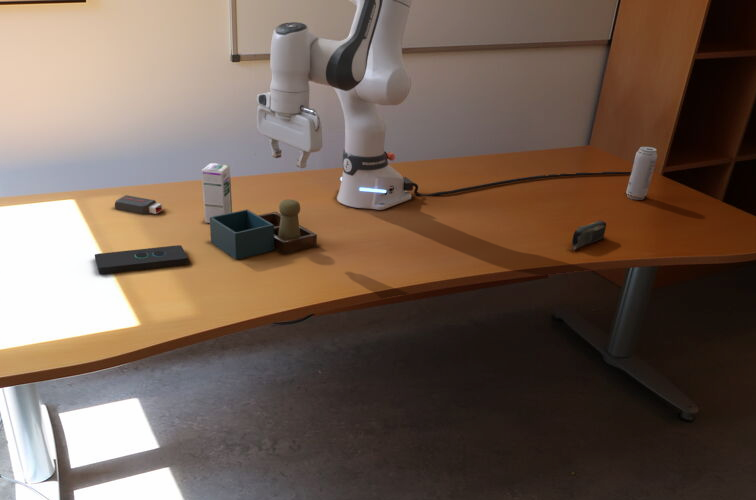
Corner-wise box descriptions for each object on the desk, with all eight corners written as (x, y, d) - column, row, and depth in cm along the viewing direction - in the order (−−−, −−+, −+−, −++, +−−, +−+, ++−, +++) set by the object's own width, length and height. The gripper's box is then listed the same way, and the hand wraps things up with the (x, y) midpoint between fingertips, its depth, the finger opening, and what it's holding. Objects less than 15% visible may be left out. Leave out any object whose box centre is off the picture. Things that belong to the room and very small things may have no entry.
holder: (275, 222, 197) (275, 211, 196) (316, 245, 185) (316, 234, 184) (244, 229, 192) (243, 218, 190) (283, 254, 180) (283, 242, 178)
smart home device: (188, 257, 171) (98, 267, 164) (188, 264, 172) (99, 274, 165) (181, 244, 178) (94, 253, 171) (181, 250, 179) (95, 260, 172)
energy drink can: (628, 192, 233) (641, 144, 225) (648, 197, 230) (661, 148, 222) (622, 197, 228) (635, 148, 221) (642, 201, 226) (655, 152, 218)
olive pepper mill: (300, 248, 183) (301, 206, 177) (276, 247, 183) (276, 204, 177) (302, 239, 188) (302, 197, 183) (278, 237, 188) (278, 196, 182)
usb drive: (126, 202, 204) (124, 193, 203) (164, 209, 201) (163, 200, 200) (115, 208, 200) (113, 199, 199) (153, 216, 197) (153, 206, 195)
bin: (248, 233, 190) (247, 209, 186) (274, 250, 182) (273, 224, 178) (210, 242, 184) (209, 217, 180) (236, 259, 176) (235, 233, 172)
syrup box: (225, 225, 194) (223, 171, 186) (204, 223, 194) (200, 168, 187) (232, 218, 198) (230, 164, 191) (211, 215, 199) (209, 162, 192)
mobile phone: (599, 218, 198) (569, 229, 189) (609, 221, 196) (580, 233, 187) (594, 235, 201) (565, 248, 191) (605, 239, 199) (576, 251, 189)
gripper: (330, 109, 163) (327, 171, 170) (273, 91, 176) (273, 150, 183) (308, 112, 160) (306, 176, 167) (252, 94, 172) (252, 153, 179)
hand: (288, 162), depth 175 cm, fingers open, 8 cm apart
